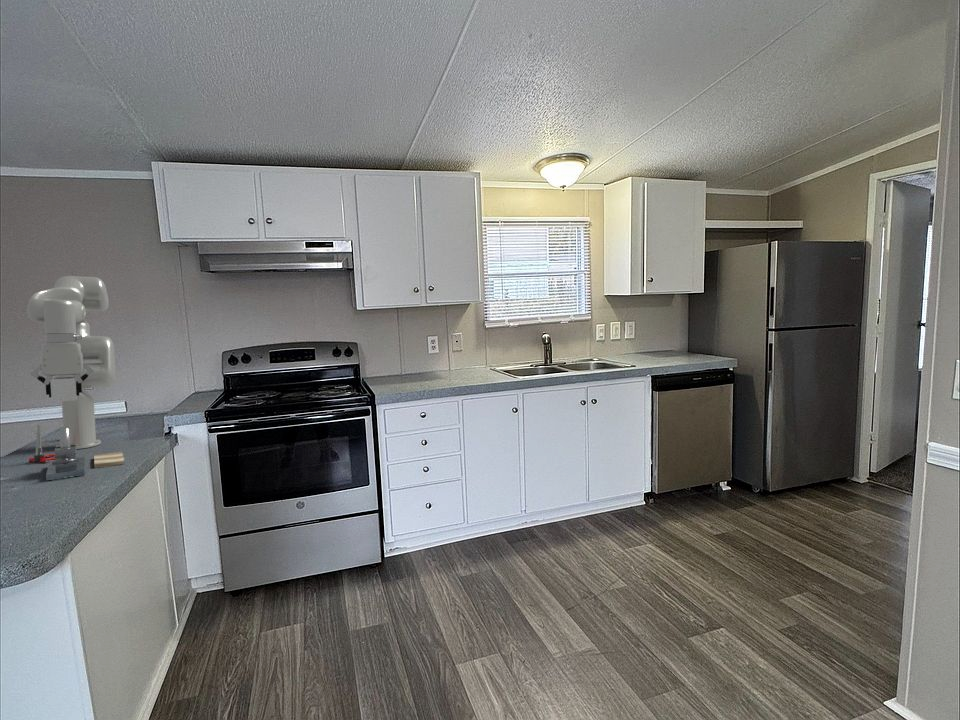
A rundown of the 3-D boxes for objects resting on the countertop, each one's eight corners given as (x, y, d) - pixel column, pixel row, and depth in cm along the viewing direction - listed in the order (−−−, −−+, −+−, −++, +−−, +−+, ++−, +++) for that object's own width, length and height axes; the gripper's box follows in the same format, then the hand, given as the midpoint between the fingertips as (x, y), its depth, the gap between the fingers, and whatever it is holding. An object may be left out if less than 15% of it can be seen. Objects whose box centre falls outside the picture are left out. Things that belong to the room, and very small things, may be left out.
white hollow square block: (52, 399, 159) (51, 377, 158) (77, 397, 162) (75, 376, 162) (51, 402, 154) (50, 379, 153) (76, 400, 158) (75, 378, 157)
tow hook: (53, 456, 178) (25, 462, 169) (53, 420, 178) (25, 424, 168) (73, 457, 177) (47, 464, 168) (73, 421, 176) (47, 425, 167)
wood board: (94, 458, 174) (94, 455, 174) (122, 455, 179) (122, 451, 179) (94, 468, 163) (94, 464, 163) (124, 464, 168) (124, 460, 168)
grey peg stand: (50, 467, 164) (47, 425, 163) (85, 462, 169) (82, 421, 168) (46, 481, 150) (43, 435, 148) (84, 475, 155) (82, 431, 154)
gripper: (95, 338, 165) (98, 392, 166) (25, 339, 154) (29, 396, 156) (95, 339, 159) (98, 395, 160) (22, 340, 148) (26, 400, 150)
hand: (64, 395), depth 158 cm, fingers closed on white hollow square block, 6 cm apart
